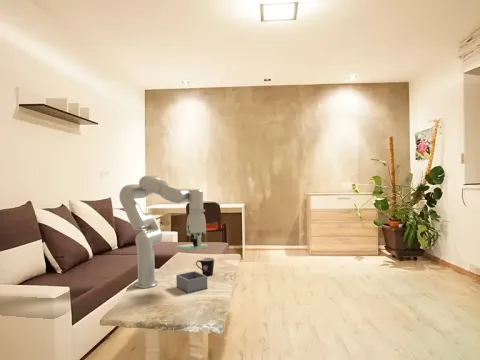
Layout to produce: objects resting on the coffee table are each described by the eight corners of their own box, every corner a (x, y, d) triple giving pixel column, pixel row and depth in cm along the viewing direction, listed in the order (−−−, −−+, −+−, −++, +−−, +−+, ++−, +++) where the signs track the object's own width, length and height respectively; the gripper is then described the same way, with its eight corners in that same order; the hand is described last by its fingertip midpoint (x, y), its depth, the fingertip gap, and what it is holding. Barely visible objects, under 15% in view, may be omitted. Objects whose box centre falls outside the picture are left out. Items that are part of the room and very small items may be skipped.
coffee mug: (217, 274, 211) (217, 259, 211) (207, 277, 204) (206, 261, 204) (205, 271, 219) (205, 256, 219) (195, 274, 212) (194, 258, 212)
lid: (176, 249, 186) (175, 236, 187) (195, 246, 194) (194, 233, 194) (190, 252, 173) (189, 237, 173) (210, 248, 180) (209, 234, 181)
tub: (176, 287, 187) (176, 274, 187) (195, 282, 194) (195, 271, 194) (188, 293, 176) (187, 280, 176) (207, 288, 183) (207, 276, 183)
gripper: (205, 210, 187) (205, 242, 187) (180, 212, 178) (180, 246, 178) (212, 211, 181) (212, 244, 181) (186, 213, 172) (187, 248, 172)
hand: (196, 245), depth 179 cm, fingers closed on lid, 1 cm apart
